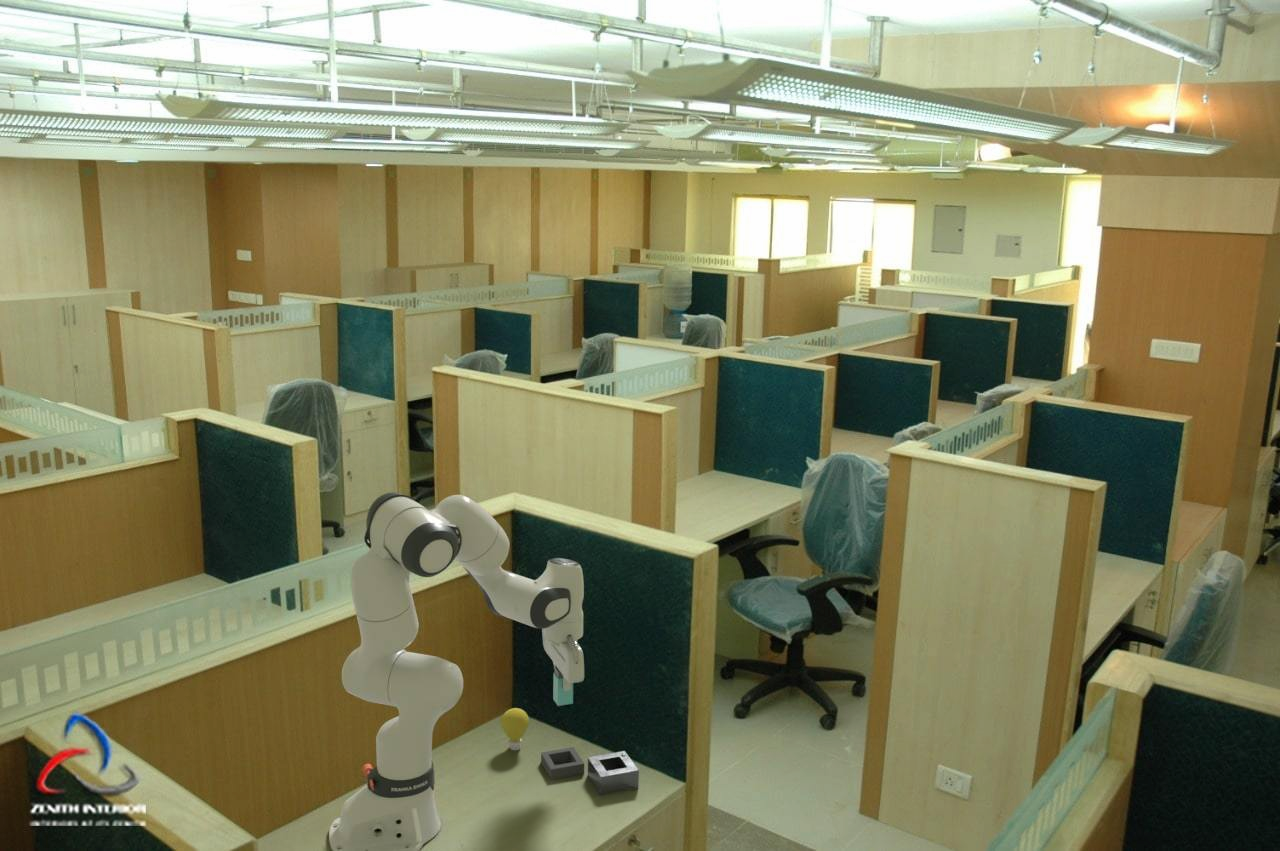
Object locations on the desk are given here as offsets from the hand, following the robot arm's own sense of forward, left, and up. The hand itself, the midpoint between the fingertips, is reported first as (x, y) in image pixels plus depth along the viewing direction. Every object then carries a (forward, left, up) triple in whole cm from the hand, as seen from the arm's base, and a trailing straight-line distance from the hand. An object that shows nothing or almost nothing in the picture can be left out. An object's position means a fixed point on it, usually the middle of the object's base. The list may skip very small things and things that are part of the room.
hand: (563, 684), depth 241 cm
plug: (0, 0, -4) cm, 4 cm away
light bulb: (-8, +13, -21) cm, 26 cm away
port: (+9, -9, -21) cm, 25 cm away
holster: (0, 0, -21) cm, 21 cm away
